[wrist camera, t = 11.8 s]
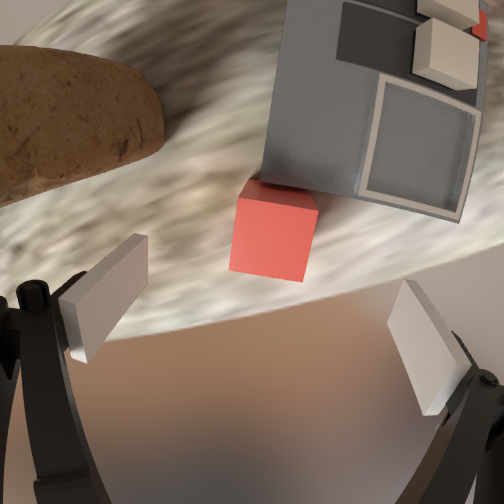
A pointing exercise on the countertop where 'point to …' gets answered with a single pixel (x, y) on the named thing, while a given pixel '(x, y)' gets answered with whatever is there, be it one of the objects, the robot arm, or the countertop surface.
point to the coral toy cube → (273, 230)
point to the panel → (371, 109)
